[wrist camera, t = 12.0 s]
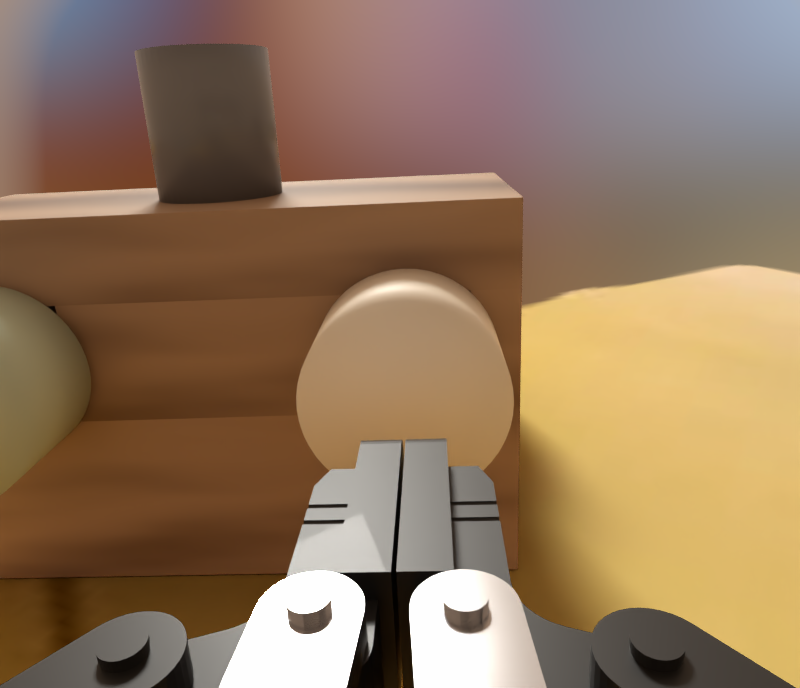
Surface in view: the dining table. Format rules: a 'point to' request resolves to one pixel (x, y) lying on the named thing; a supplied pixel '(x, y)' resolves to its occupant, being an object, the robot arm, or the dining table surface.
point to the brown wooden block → (223, 359)
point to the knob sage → (36, 383)
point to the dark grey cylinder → (210, 122)
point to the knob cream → (405, 371)
